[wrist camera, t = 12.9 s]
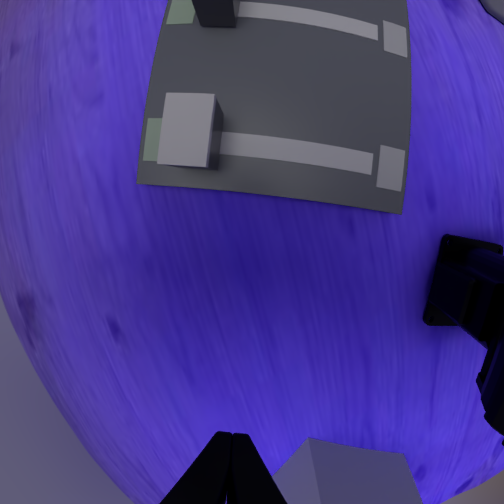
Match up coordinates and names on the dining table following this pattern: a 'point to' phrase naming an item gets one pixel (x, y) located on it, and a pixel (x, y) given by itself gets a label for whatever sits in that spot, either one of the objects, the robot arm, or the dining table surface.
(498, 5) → the flask
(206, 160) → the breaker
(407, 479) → the milk
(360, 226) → the dining table surface
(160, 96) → the panel
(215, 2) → the block
